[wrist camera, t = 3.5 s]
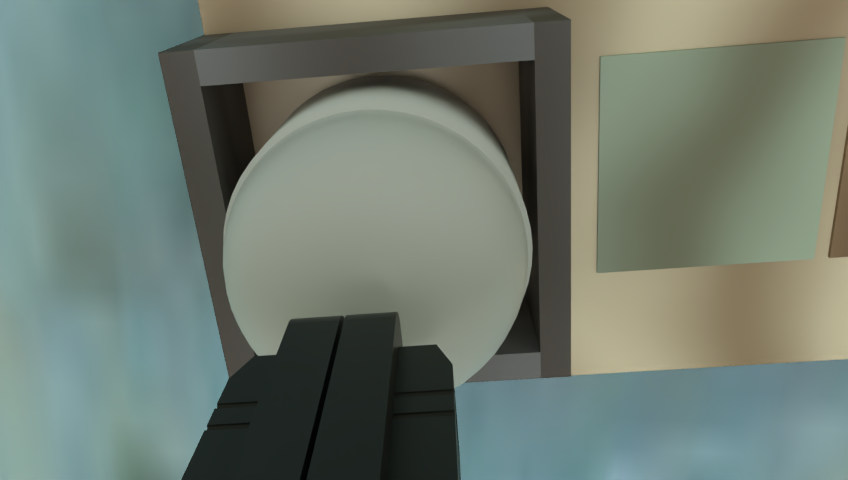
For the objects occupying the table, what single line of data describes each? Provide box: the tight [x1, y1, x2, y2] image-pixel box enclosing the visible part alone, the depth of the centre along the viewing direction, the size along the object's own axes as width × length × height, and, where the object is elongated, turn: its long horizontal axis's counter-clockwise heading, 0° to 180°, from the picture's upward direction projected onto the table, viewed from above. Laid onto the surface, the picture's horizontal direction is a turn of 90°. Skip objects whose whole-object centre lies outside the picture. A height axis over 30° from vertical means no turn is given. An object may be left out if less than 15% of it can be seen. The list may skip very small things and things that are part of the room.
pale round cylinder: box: [223, 75, 533, 389], centre depth 14 cm, size 6×6×6 cm
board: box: [158, 0, 848, 383], centre depth 17 cm, size 28×12×5 cm, turn 95°
